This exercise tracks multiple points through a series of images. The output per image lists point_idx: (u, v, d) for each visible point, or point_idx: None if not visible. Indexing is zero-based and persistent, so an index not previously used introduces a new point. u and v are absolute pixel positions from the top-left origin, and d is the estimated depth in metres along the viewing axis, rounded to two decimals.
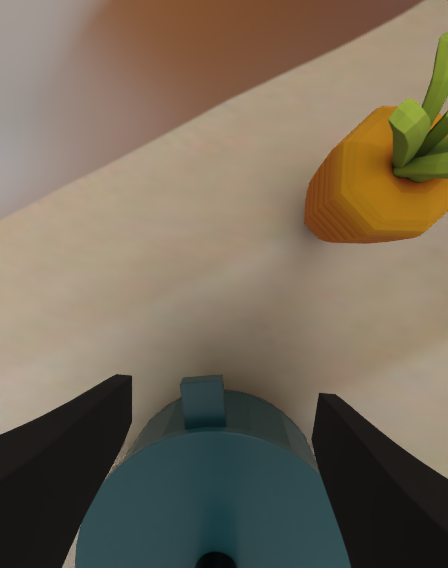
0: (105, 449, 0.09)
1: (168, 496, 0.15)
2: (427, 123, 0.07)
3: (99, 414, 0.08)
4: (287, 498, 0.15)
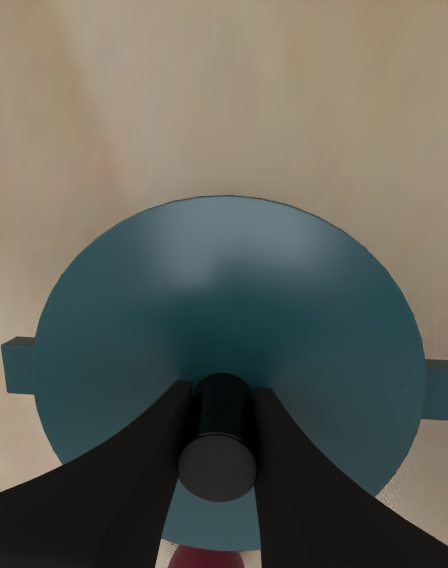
0: None
1: None
2: None
3: (176, 421, 0.08)
4: (123, 293, 0.11)
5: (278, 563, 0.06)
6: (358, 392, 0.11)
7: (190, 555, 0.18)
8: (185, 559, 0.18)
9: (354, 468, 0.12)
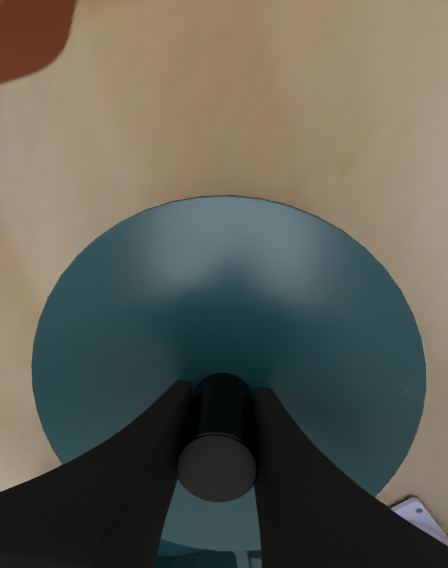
0: None
1: None
2: None
3: (176, 421, 0.08)
4: (122, 293, 0.11)
5: (278, 563, 0.06)
6: (358, 392, 0.11)
7: None
8: None
9: (354, 468, 0.12)
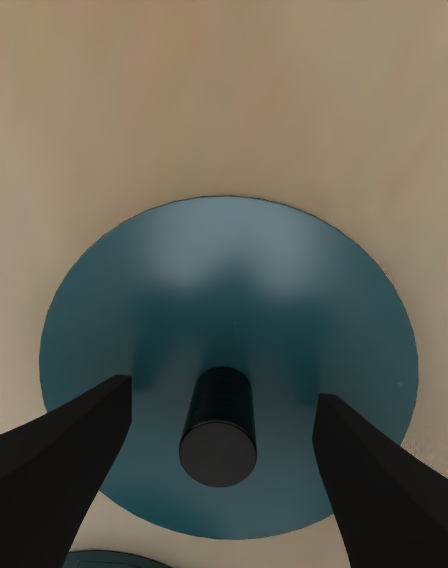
0: (105, 449, 0.09)
1: None
2: None
3: (99, 414, 0.08)
4: (127, 289, 0.11)
5: None
6: (353, 385, 0.11)
7: None
8: None
9: None
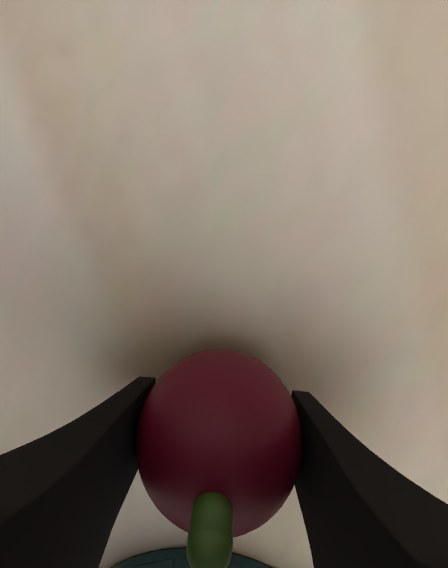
0: (133, 452, 0.09)
1: None
2: None
3: (129, 417, 0.08)
4: None
5: None
6: None
7: None
8: None
9: None
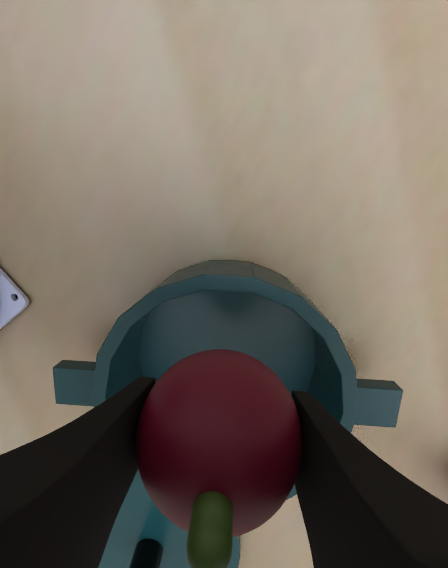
0: (133, 452, 0.09)
1: None
2: None
3: (129, 417, 0.08)
4: None
5: None
6: None
7: None
8: None
9: None
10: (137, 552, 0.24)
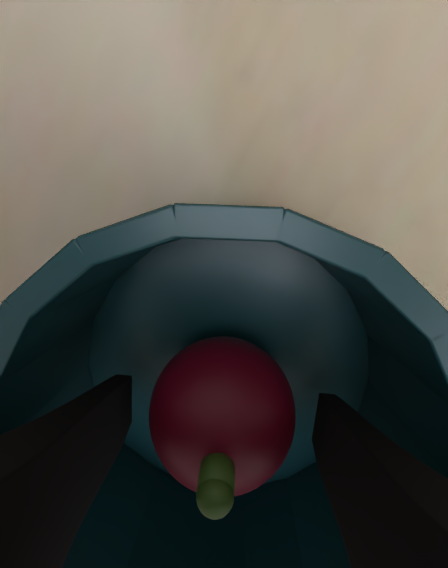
0: (105, 449, 0.09)
1: None
2: None
3: (99, 414, 0.08)
4: None
5: None
6: None
7: None
8: None
9: None
10: None
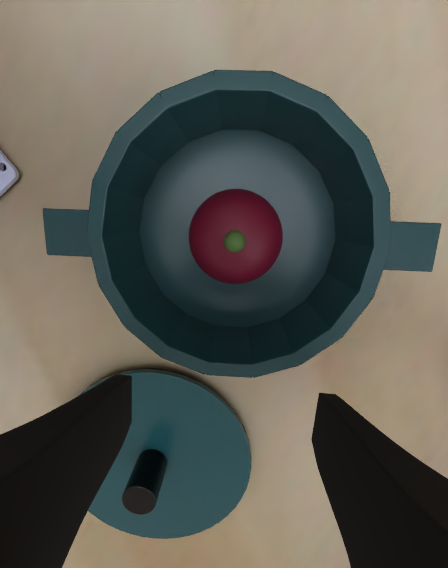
0: (105, 449, 0.09)
1: (208, 441, 0.22)
2: None
3: (99, 414, 0.08)
4: (200, 507, 0.24)
5: None
6: None
7: None
8: None
9: None
10: (140, 460, 0.22)
